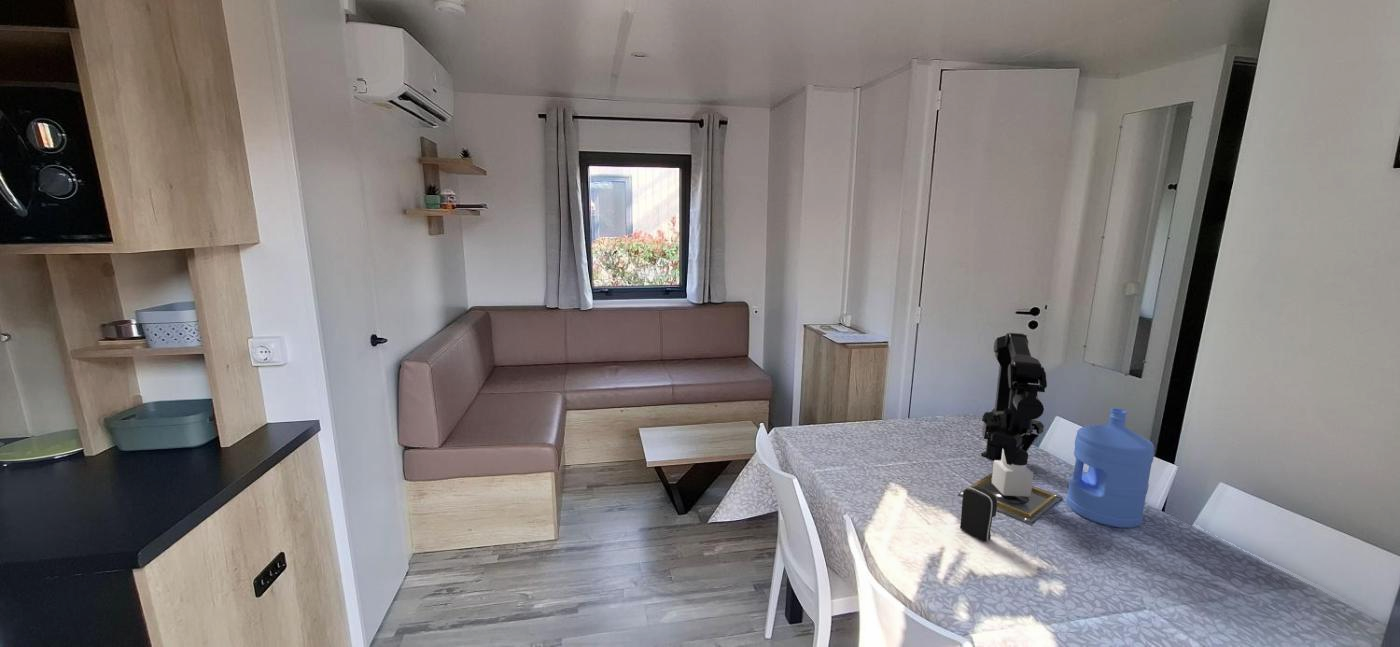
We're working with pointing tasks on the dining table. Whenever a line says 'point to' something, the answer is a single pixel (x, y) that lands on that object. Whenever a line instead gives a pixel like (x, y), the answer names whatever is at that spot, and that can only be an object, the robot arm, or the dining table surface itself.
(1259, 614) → the dining table surface
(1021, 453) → the medicine bottle
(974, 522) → the battery charger
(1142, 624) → the dining table surface
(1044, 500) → the lid
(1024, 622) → the dining table surface
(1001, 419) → the robot arm
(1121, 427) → the water jug
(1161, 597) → the dining table surface
